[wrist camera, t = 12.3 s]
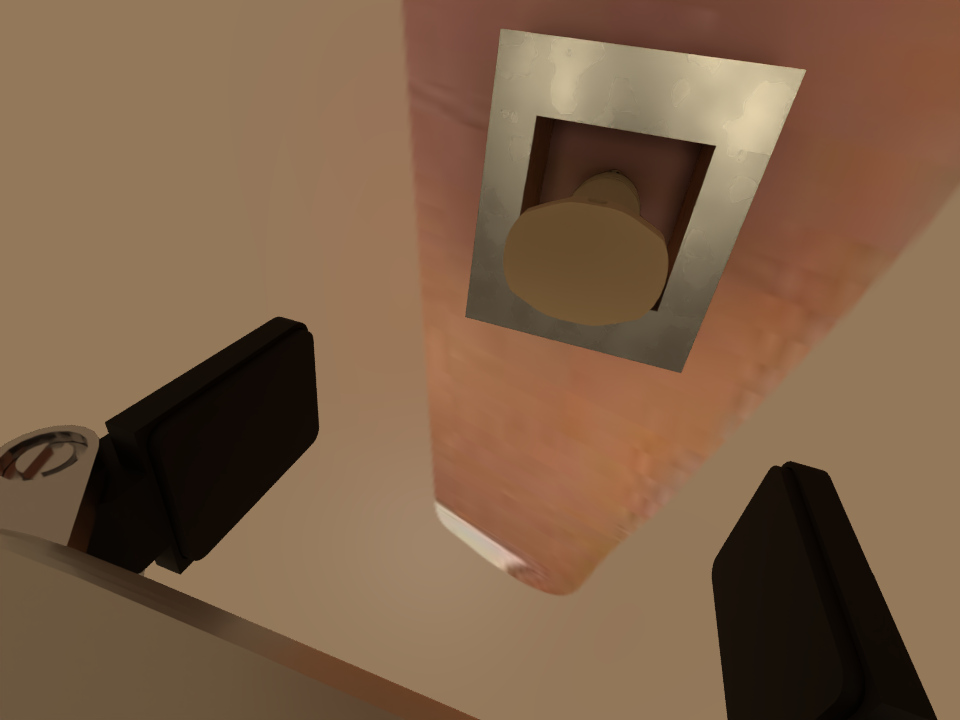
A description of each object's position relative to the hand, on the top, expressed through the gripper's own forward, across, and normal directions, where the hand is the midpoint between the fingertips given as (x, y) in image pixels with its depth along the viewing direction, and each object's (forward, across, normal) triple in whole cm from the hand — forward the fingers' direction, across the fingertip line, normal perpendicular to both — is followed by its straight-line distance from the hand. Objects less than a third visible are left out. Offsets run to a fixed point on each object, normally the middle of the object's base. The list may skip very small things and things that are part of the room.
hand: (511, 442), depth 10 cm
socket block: (+26, 0, 0) cm, 26 cm away
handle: (+26, 0, 0) cm, 26 cm away
